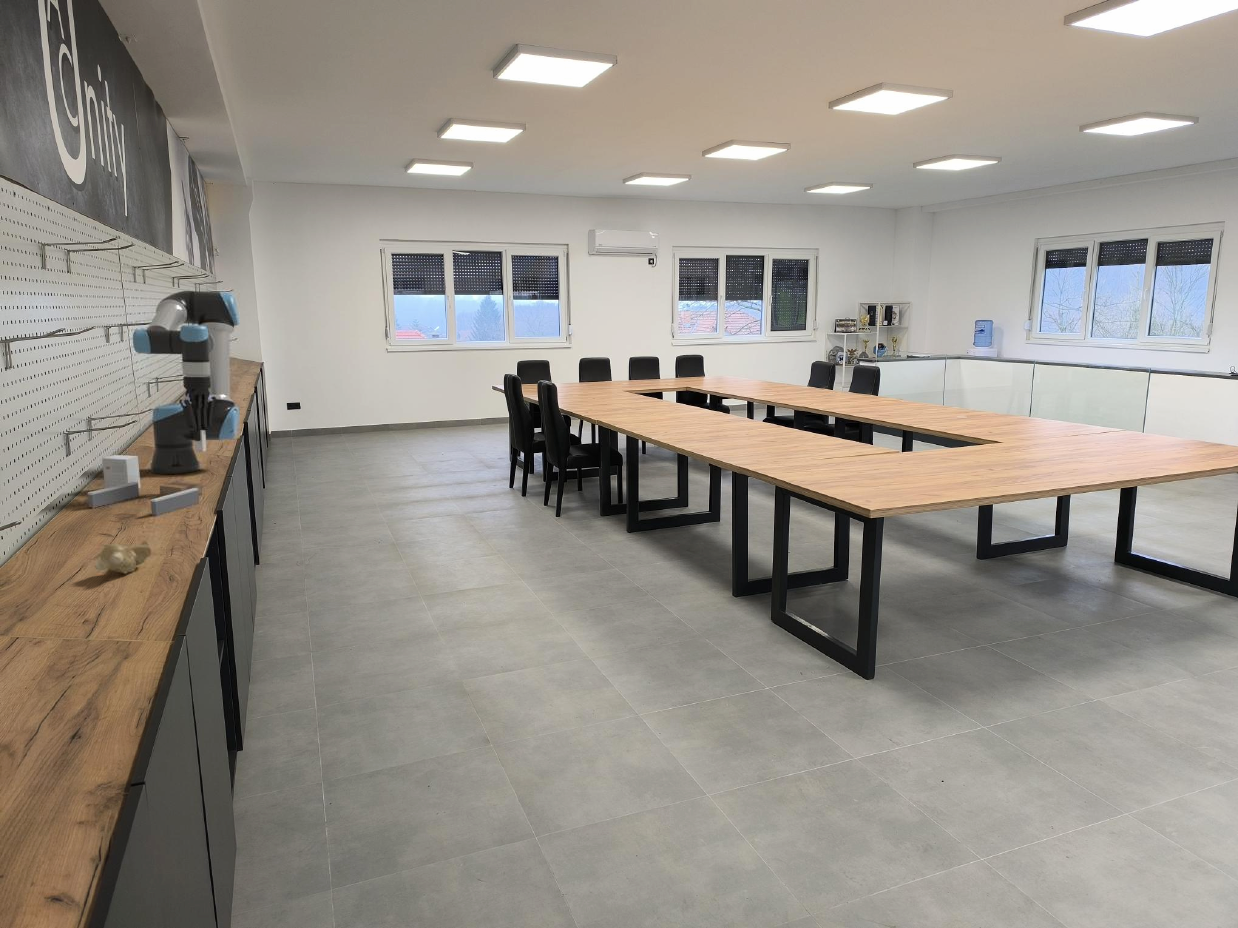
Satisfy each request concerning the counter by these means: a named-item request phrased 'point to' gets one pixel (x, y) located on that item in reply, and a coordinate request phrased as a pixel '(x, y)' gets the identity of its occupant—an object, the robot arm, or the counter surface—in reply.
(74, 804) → the counter surface
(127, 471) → the small box
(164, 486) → the walnut block
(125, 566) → the beige lumpy piece
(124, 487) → the corridor walls
